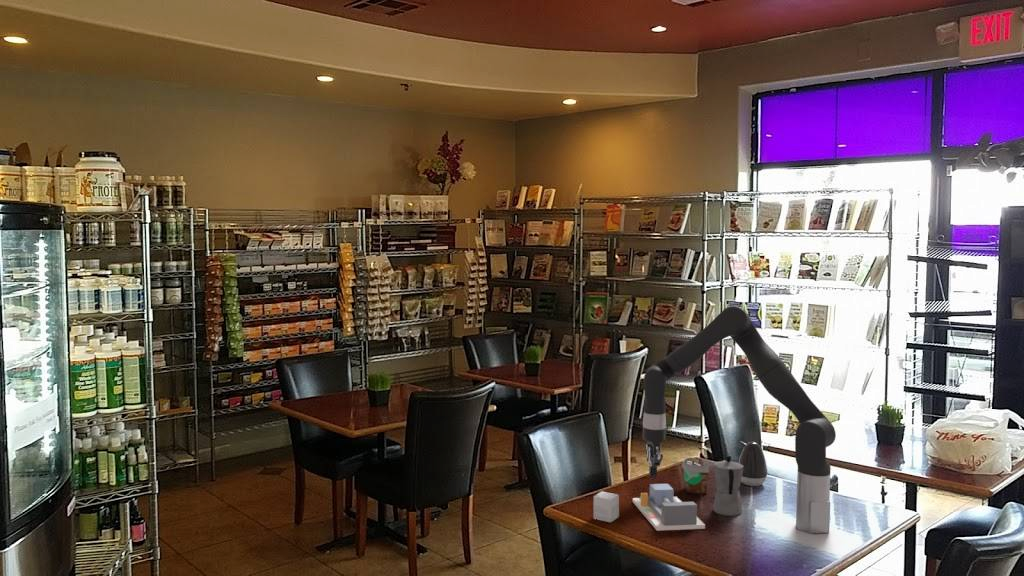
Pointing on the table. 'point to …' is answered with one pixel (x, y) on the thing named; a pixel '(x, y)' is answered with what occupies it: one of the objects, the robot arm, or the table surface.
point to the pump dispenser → (753, 464)
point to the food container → (695, 476)
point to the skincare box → (606, 506)
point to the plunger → (660, 494)
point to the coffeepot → (728, 487)
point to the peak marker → (644, 499)
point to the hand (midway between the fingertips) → (652, 476)
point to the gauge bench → (658, 522)
